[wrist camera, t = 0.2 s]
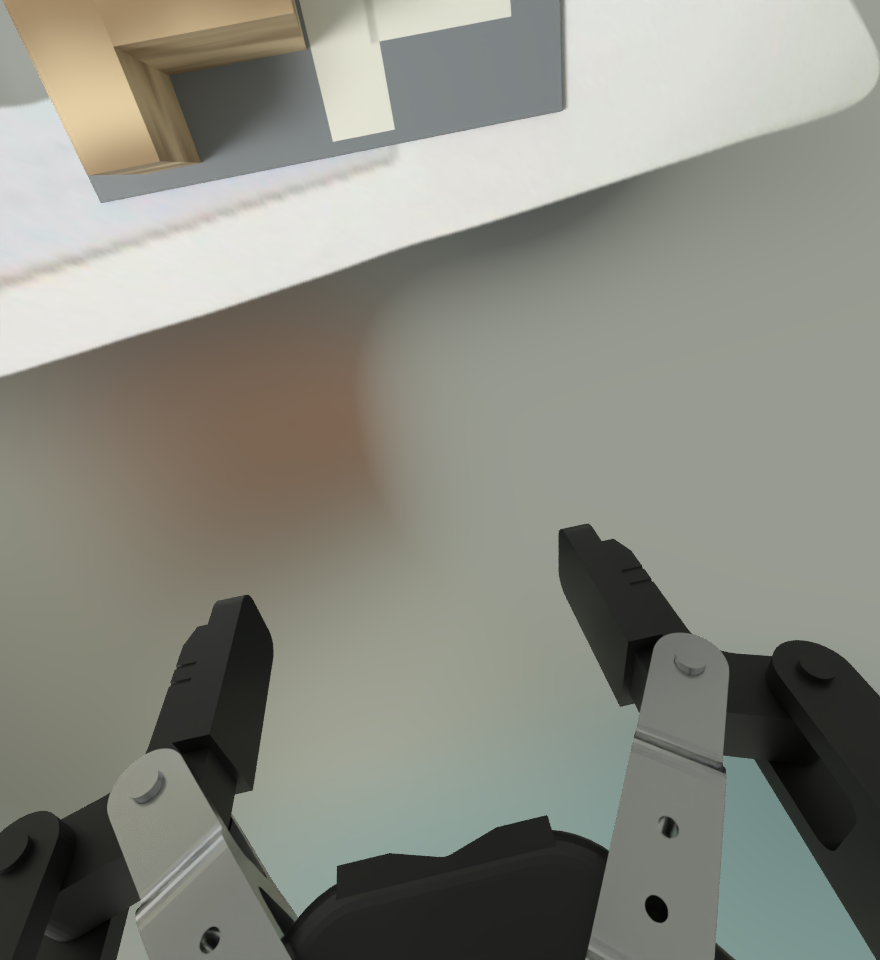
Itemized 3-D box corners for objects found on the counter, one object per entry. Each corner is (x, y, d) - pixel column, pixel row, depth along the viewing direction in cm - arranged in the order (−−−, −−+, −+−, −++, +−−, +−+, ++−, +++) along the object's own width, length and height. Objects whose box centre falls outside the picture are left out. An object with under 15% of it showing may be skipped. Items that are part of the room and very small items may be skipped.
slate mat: (-58, -131, 23) (-63, -136, 23) (552, -235, 24) (555, -240, 24) (103, 202, 31) (101, 203, 31) (560, 111, 32) (562, 110, 32)
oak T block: (20, -116, 24) (-108, -228, 17) (256, -156, 24) (222, -281, 17) (145, 174, 30) (87, 175, 24) (327, 137, 31) (322, 129, 24)
